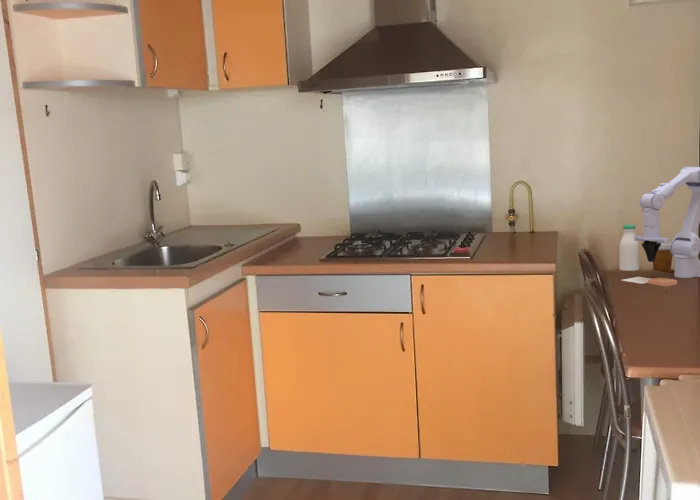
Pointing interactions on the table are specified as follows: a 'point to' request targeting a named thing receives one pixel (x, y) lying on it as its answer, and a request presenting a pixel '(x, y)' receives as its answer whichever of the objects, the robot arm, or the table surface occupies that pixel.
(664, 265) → the disposable coffee cup
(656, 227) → the robot arm
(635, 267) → the milk bottle
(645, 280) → the white riser
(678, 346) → the table surface
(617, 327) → the table surface
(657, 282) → the terracotta tile
